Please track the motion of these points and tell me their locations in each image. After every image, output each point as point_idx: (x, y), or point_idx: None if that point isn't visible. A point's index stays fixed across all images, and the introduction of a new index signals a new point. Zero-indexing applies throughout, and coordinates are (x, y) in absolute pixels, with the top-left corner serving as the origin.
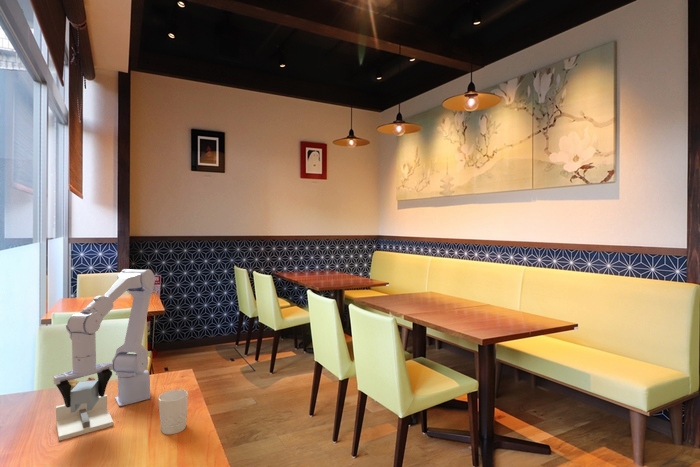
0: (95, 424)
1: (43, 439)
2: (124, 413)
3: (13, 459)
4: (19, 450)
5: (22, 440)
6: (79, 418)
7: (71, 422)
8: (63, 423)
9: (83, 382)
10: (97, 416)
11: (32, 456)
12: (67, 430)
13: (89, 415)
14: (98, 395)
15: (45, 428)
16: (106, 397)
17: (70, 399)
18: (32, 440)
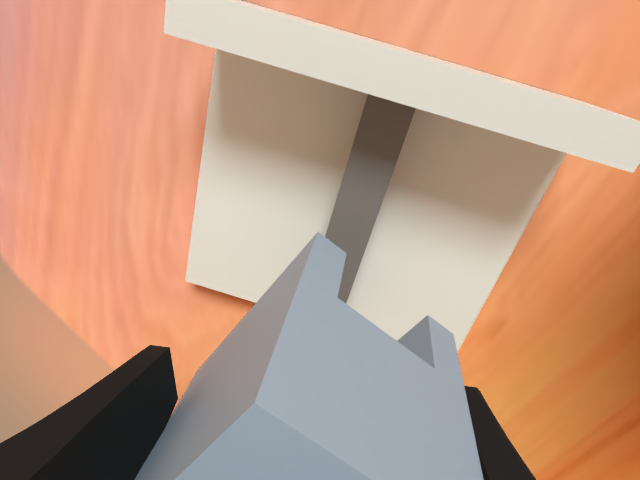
0: (372, 313)
1: (137, 181)
2: (599, 262)
3: (19, 264)
4: (35, 201)
5: (40, 86)
6: (346, 143)
7: (287, 159)
8: (244, 127)
9: (296, 474)
10: (439, 221)
11: (86, 305)
12: (236, 252)
13: (415, 154)
14: (454, 372)
15: (163, 20)
16: (618, 166)
17: (139, 473)
18: (88, 140)
